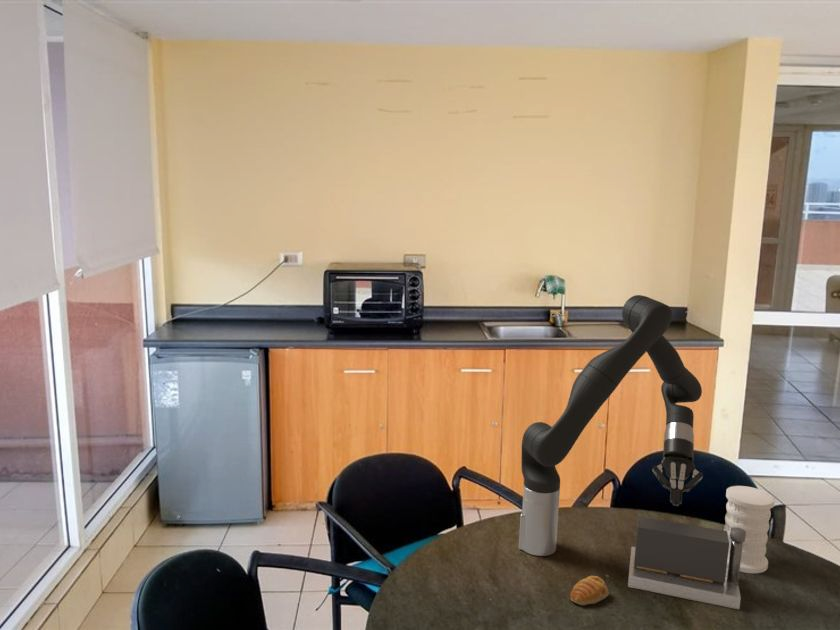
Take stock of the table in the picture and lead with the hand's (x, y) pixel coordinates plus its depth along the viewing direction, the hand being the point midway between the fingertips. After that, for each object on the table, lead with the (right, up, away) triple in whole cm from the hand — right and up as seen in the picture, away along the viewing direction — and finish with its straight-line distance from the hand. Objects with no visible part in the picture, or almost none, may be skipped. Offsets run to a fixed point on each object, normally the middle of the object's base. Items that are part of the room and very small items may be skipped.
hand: (676, 504), depth 170 cm
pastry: (-27, -17, -17) cm, 36 cm away
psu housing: (-3, -16, -10) cm, 19 cm away
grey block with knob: (-2, -12, -11) cm, 17 cm away
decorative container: (+17, -14, 0) cm, 22 cm away
